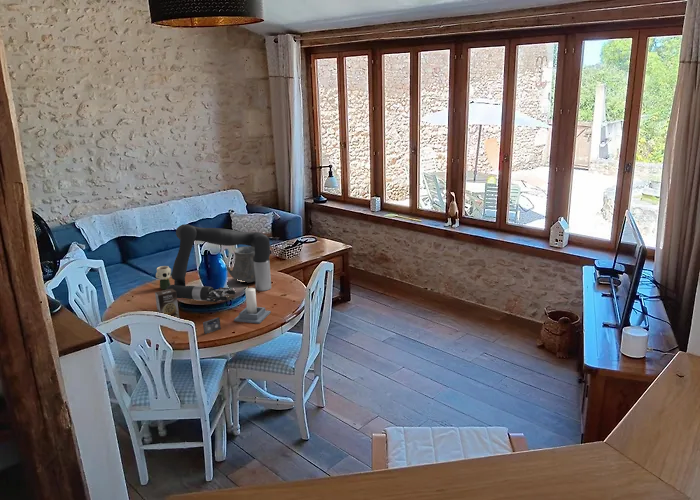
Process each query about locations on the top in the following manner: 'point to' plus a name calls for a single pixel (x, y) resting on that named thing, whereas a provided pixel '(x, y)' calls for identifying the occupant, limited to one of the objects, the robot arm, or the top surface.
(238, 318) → the slate socket
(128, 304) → the top surface
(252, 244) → the robot arm
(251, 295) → the cream canister
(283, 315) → the top surface
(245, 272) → the vessel
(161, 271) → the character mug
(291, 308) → the top surface
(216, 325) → the mini dv tape
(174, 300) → the coffee box
